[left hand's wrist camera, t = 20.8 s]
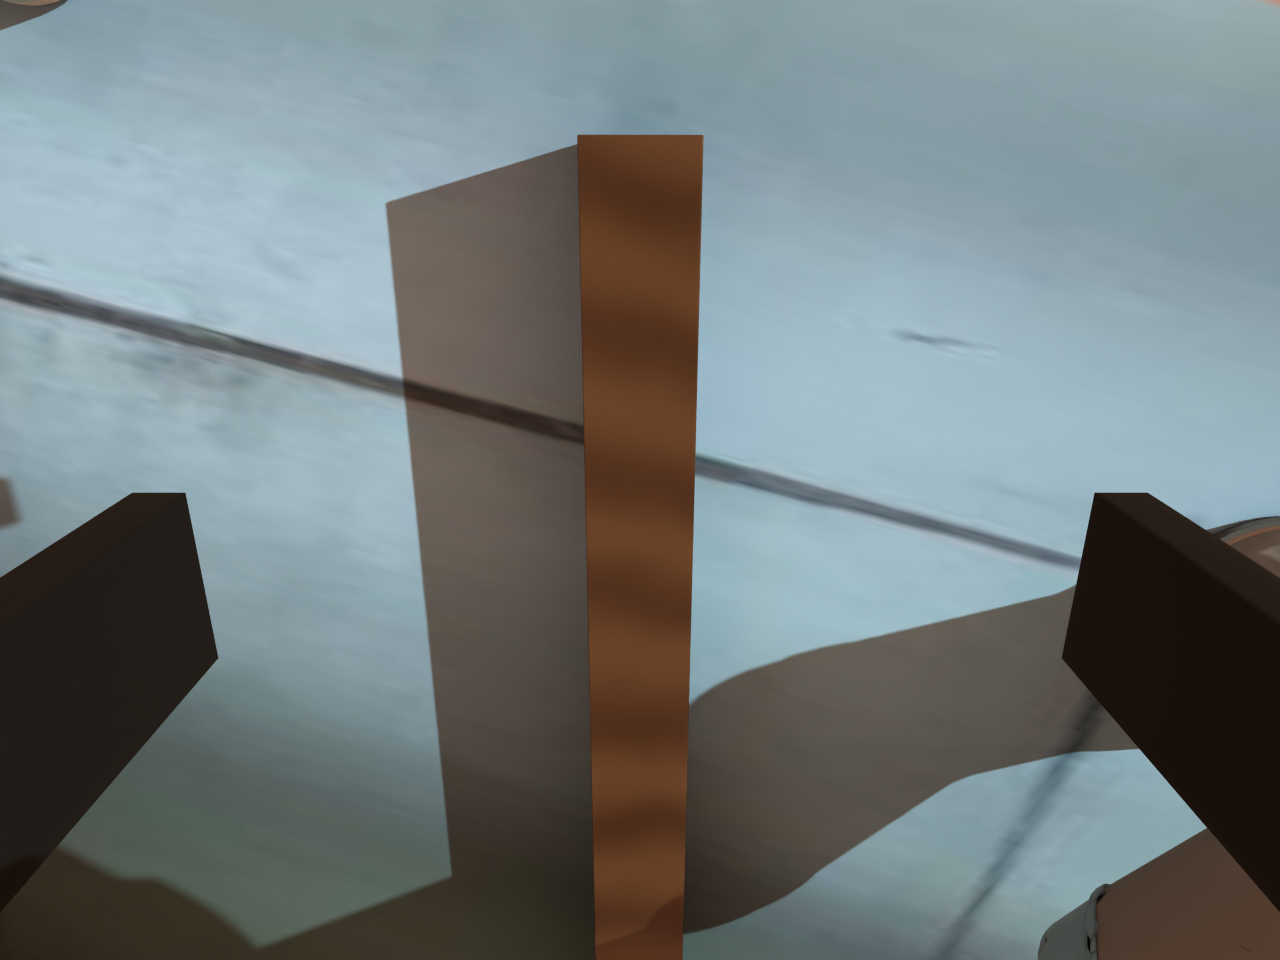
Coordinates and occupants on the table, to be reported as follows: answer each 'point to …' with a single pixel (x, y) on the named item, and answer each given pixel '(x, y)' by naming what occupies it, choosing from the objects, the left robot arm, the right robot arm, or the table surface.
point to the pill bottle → (32, 2)
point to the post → (639, 521)
